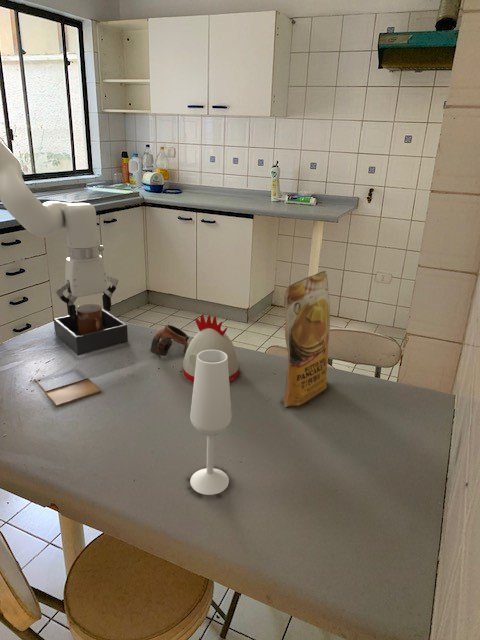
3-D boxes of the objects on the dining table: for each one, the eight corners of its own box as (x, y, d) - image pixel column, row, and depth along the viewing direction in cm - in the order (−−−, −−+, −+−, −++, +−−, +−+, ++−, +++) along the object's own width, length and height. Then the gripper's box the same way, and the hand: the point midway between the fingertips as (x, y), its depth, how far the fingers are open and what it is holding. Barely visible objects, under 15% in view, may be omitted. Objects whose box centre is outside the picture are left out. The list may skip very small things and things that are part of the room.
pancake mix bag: (265, 402, 104) (274, 283, 93) (313, 374, 117) (326, 267, 107) (289, 414, 100) (301, 291, 89) (336, 384, 113) (351, 273, 102)
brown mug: (75, 337, 130) (72, 307, 126) (97, 331, 134) (95, 302, 130) (88, 348, 124) (85, 316, 120) (111, 342, 128) (109, 311, 124)
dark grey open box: (55, 337, 131) (53, 318, 128) (103, 326, 139) (102, 308, 137) (78, 357, 120) (75, 337, 118) (128, 344, 129) (127, 324, 127)
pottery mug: (152, 345, 130) (166, 320, 129) (180, 362, 130) (195, 337, 129) (140, 353, 118) (155, 325, 117) (172, 372, 118) (187, 345, 117)
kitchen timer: (198, 354, 124) (198, 302, 119) (246, 365, 120) (248, 311, 114) (173, 378, 112) (172, 320, 107) (225, 390, 108) (227, 331, 102)
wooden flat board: (34, 380, 108) (33, 378, 108) (75, 368, 115) (75, 366, 114) (56, 407, 99) (56, 405, 99) (100, 392, 105) (100, 390, 105)
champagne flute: (212, 462, 84) (215, 343, 75) (237, 482, 80) (243, 358, 71) (182, 479, 80) (181, 354, 71) (206, 501, 75) (208, 371, 66)
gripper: (108, 245, 128) (113, 303, 135) (45, 254, 117) (53, 316, 124) (121, 250, 123) (125, 310, 129) (56, 260, 112) (64, 325, 119)
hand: (90, 313), depth 127 cm, fingers open, 9 cm apart
